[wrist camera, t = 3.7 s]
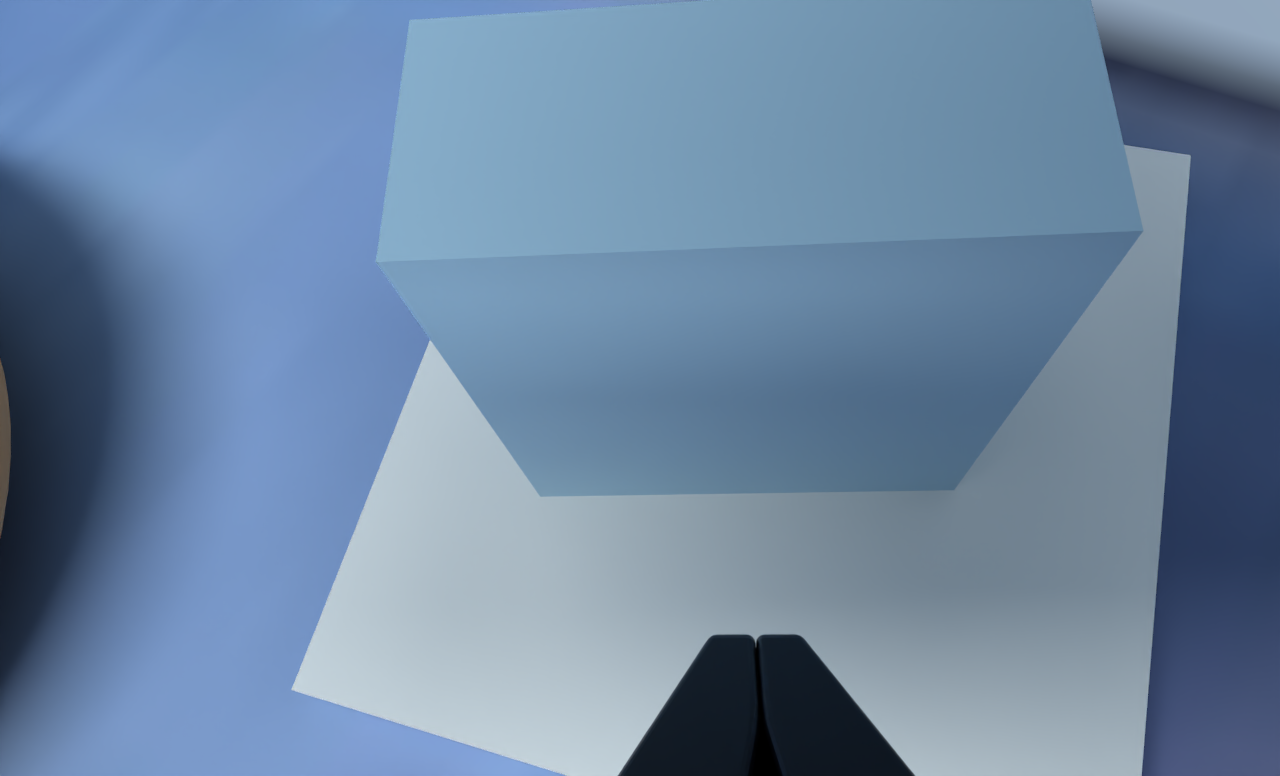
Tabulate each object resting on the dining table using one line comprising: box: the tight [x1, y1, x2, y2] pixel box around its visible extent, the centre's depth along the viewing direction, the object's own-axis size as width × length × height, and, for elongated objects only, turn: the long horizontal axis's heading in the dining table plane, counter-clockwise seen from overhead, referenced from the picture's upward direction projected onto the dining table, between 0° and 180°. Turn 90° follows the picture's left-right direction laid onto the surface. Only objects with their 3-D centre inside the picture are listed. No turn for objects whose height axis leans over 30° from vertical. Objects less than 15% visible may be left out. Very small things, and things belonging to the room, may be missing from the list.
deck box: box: [376, 0, 1143, 497], centre depth 13 cm, size 3×7×8 cm, turn 89°
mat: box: [292, 145, 1191, 776], centre depth 17 cm, size 14×13×1 cm
